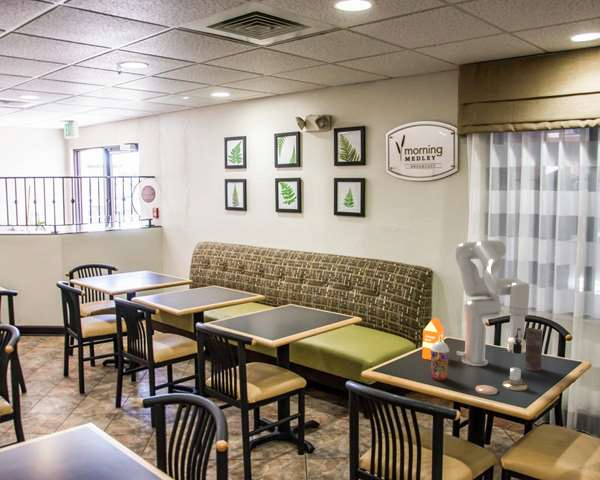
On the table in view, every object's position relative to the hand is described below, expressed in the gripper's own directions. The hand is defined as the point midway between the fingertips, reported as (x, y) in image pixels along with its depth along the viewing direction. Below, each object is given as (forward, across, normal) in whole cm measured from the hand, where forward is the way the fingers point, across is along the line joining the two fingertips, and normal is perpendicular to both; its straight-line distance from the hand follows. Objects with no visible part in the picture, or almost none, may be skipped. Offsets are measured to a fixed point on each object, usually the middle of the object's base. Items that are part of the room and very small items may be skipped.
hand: (515, 350), depth 243 cm
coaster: (+16, +9, -12) cm, 22 cm away
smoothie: (+17, -1, -32) cm, 36 cm away
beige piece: (+16, +1, 0) cm, 16 cm away
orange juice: (+18, -32, -34) cm, 50 cm away
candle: (+17, -26, +12) cm, 33 cm away
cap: (0, 0, 0) cm, 0 cm away
